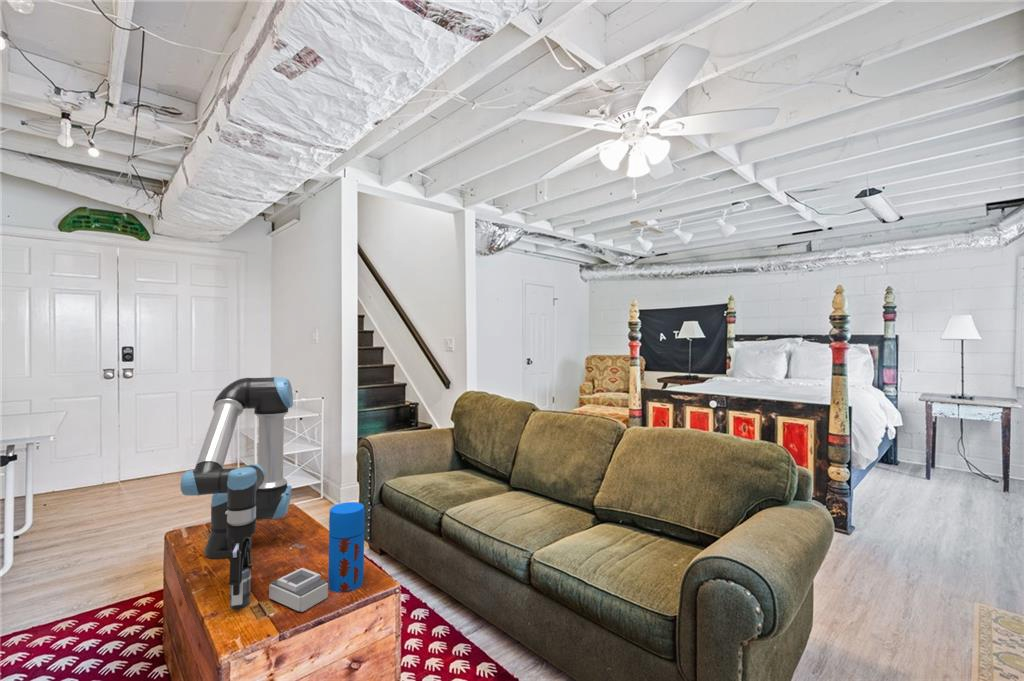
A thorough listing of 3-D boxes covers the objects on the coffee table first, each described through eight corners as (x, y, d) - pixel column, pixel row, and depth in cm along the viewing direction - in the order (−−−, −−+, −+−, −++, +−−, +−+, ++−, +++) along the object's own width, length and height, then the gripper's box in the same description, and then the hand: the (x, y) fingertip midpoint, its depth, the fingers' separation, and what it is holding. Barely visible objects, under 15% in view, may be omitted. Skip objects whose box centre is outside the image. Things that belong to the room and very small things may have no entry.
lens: (225, 606, 137) (225, 572, 137) (243, 597, 142) (244, 564, 142) (236, 612, 135) (236, 577, 135) (254, 602, 140) (255, 569, 140)
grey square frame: (269, 599, 141) (269, 577, 141) (296, 585, 150) (297, 564, 150) (300, 613, 134) (300, 590, 134) (327, 598, 143) (328, 576, 143)
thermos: (334, 576, 156) (335, 502, 156) (366, 575, 157) (367, 501, 157) (323, 593, 145) (325, 514, 145) (358, 592, 146) (360, 513, 146)
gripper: (236, 510, 147) (235, 583, 147) (216, 535, 128) (215, 618, 128) (262, 508, 149) (261, 580, 149) (246, 532, 130) (245, 614, 130)
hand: (240, 598), depth 138 cm, fingers open, 6 cm apart
